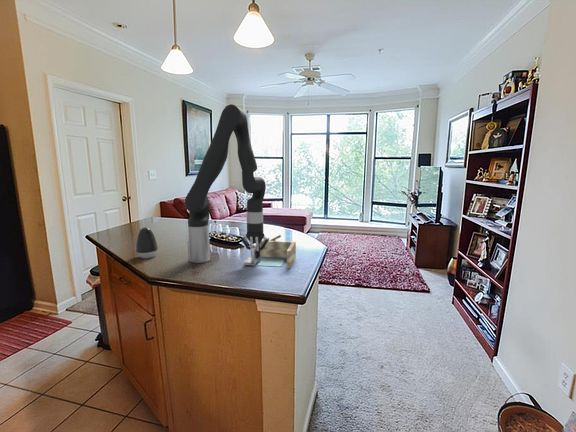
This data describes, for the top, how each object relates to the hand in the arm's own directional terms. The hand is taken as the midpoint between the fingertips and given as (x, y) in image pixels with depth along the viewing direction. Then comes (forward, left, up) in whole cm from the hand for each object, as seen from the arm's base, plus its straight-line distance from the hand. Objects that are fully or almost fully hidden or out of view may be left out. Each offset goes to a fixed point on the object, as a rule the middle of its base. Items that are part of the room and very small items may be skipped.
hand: (255, 258), depth 134 cm
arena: (+7, +4, -3) cm, 9 cm away
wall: (0, +24, -3) cm, 24 cm away
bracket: (-2, 0, -2) cm, 3 cm away
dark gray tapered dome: (-57, +2, -3) cm, 57 cm away
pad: (+7, +2, -3) cm, 8 cm away
